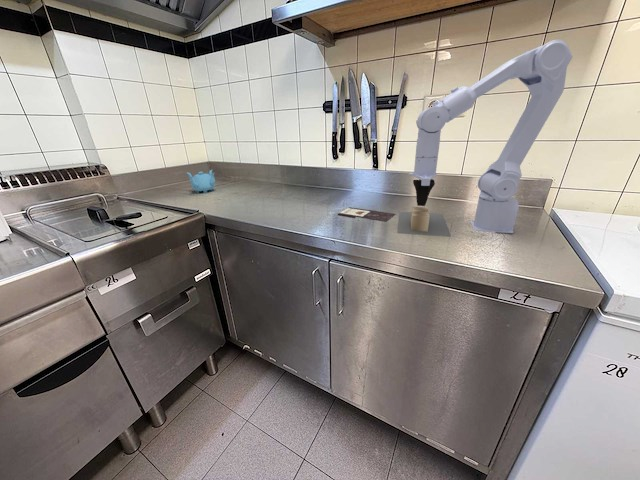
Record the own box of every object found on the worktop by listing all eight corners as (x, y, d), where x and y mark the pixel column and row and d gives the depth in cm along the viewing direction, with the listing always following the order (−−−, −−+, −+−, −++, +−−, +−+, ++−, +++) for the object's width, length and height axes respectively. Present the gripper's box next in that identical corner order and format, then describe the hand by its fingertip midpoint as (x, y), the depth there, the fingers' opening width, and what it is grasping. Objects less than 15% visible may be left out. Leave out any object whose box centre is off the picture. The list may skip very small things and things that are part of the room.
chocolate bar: (386, 221, 85) (337, 213, 94) (386, 224, 85) (337, 216, 95) (396, 213, 91) (349, 207, 101) (395, 216, 92) (349, 209, 101)
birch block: (427, 207, 82) (429, 216, 74) (425, 220, 84) (427, 231, 76) (412, 206, 83) (412, 215, 75) (410, 220, 85) (411, 230, 77)
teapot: (192, 195, 132) (187, 175, 128) (190, 190, 143) (186, 171, 139) (219, 191, 138) (215, 171, 133) (215, 187, 148) (212, 168, 144)
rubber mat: (442, 215, 90) (442, 213, 89) (450, 238, 72) (451, 236, 72) (399, 213, 94) (399, 211, 93) (397, 234, 76) (397, 233, 76)
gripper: (410, 153, 80) (406, 198, 85) (411, 160, 67) (406, 212, 72) (436, 153, 78) (430, 199, 83) (441, 160, 65) (434, 213, 71)
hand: (421, 205), depth 78 cm, fingers closed
